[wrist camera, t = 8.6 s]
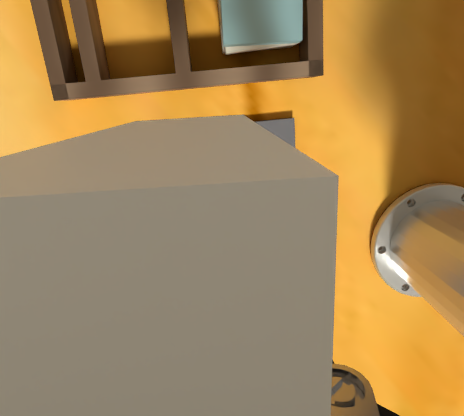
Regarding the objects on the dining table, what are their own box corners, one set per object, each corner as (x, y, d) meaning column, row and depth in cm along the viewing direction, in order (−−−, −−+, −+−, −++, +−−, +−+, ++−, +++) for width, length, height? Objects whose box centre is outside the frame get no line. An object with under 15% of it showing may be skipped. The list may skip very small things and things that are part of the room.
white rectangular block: (243, 114, 13) (337, 174, 3) (255, 375, 17) (316, 840, 6) (136, 121, 13) (-202, 210, 3) (171, 381, 17) (89, 862, 6)
